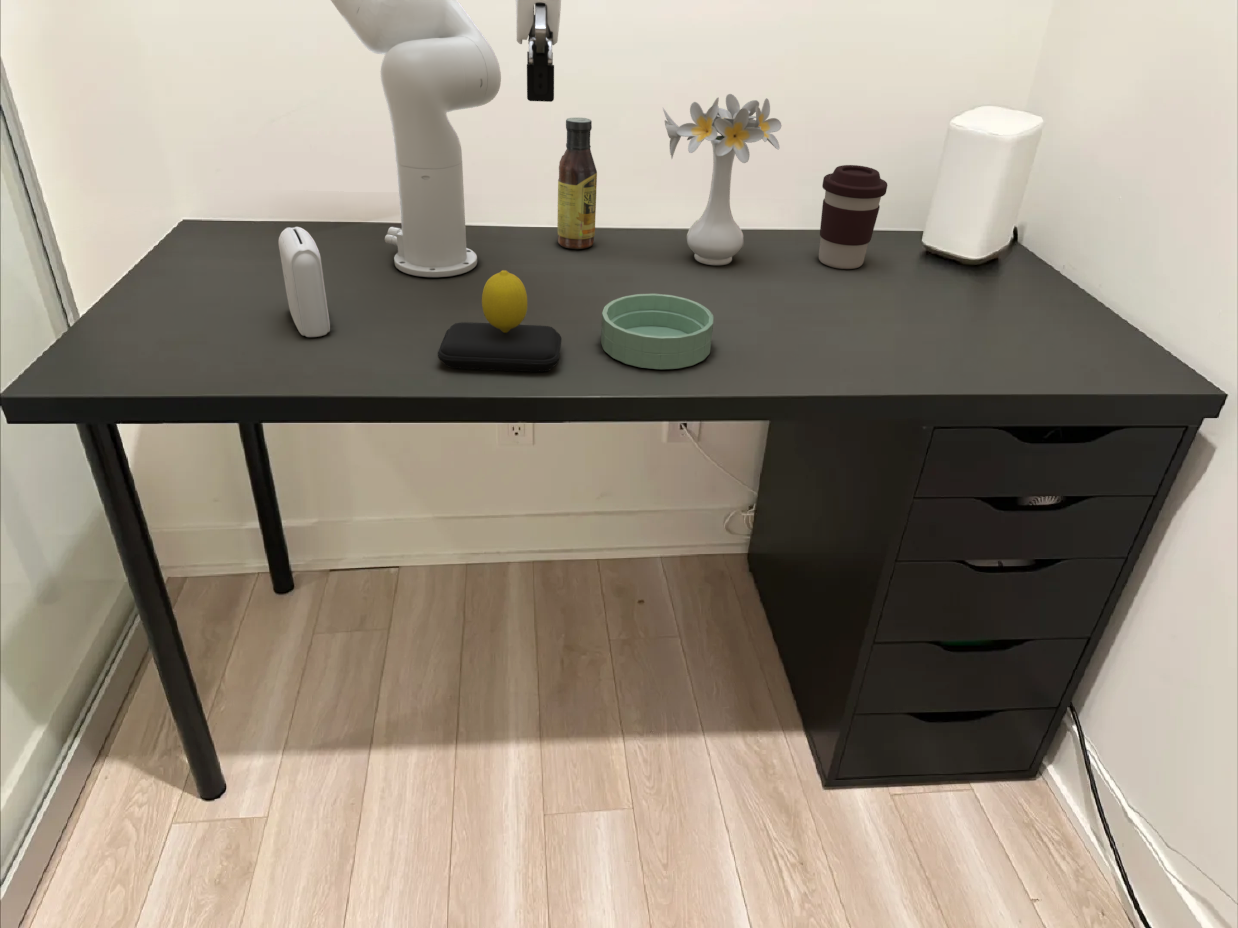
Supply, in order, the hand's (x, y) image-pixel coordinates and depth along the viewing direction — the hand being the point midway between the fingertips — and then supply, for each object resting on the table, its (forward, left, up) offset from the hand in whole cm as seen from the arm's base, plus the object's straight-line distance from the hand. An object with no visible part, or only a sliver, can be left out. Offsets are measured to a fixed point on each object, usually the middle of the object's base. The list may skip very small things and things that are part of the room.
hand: (540, 92), depth 111 cm
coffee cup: (+33, +42, -28) cm, 61 cm away
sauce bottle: (-8, +26, -28) cm, 39 cm away
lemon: (+4, -16, -25) cm, 30 cm away
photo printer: (-23, -21, -28) cm, 42 cm away
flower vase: (+14, +31, -28) cm, 44 cm away
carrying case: (+4, -17, -28) cm, 33 cm away
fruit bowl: (+20, -4, -28) cm, 35 cm away
